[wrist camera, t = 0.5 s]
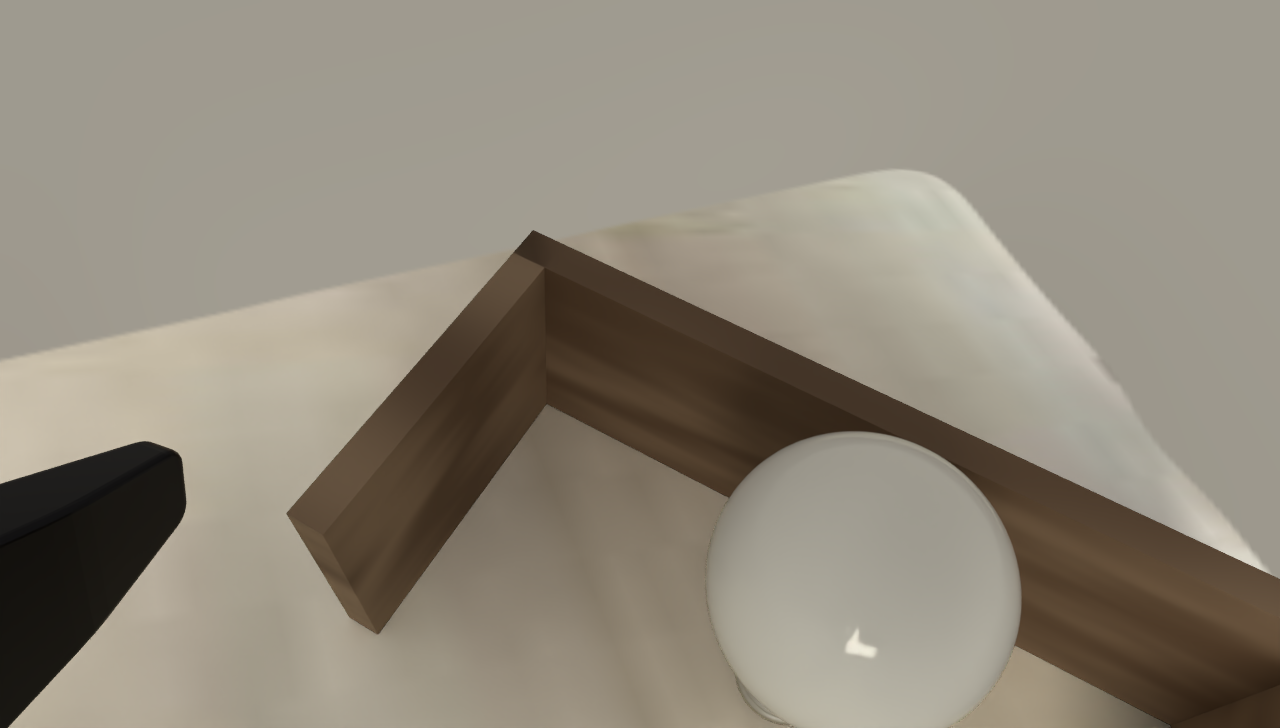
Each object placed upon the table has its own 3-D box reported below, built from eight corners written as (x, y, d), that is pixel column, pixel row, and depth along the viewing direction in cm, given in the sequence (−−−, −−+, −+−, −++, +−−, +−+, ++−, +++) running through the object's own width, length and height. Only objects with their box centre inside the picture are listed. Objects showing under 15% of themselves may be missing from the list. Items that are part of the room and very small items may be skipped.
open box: (1158, 1112, 20) (1409, 1177, 14) (349, 617, 24) (286, 513, 19) (1210, 711, 25) (1406, 638, 19) (537, 370, 30) (533, 230, 24)
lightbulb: (714, 540, 27) (794, 329, 18) (910, 628, 26) (1103, 450, 17) (630, 738, 23) (677, 600, 14) (853, 849, 22) (1058, 776, 13)
